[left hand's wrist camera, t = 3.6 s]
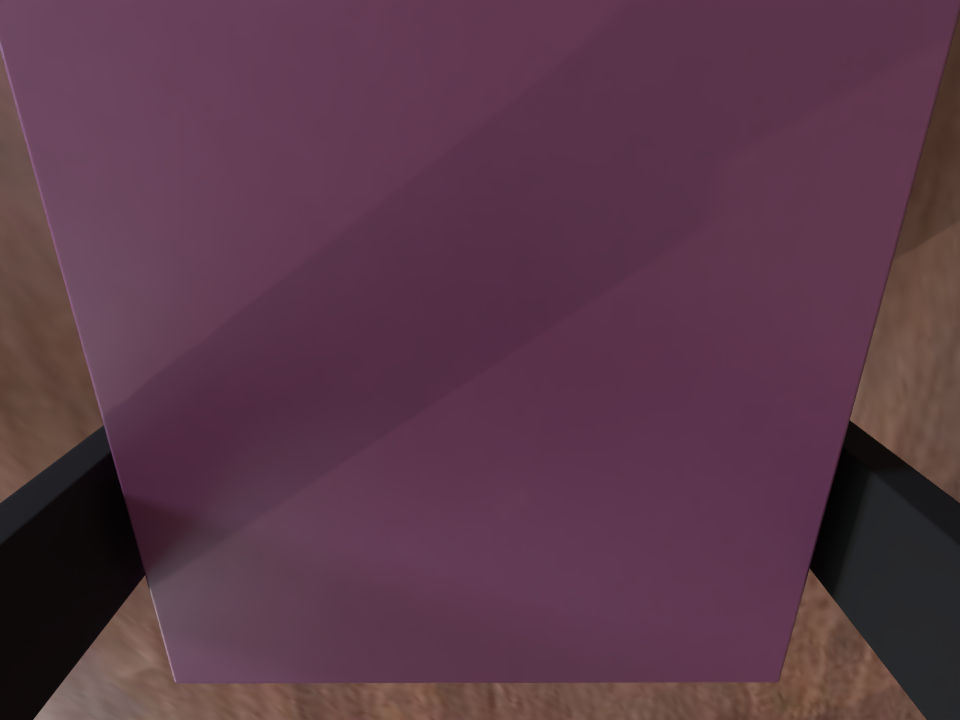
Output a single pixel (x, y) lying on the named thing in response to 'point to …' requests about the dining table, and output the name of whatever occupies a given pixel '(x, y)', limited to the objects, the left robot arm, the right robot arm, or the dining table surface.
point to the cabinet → (475, 314)
